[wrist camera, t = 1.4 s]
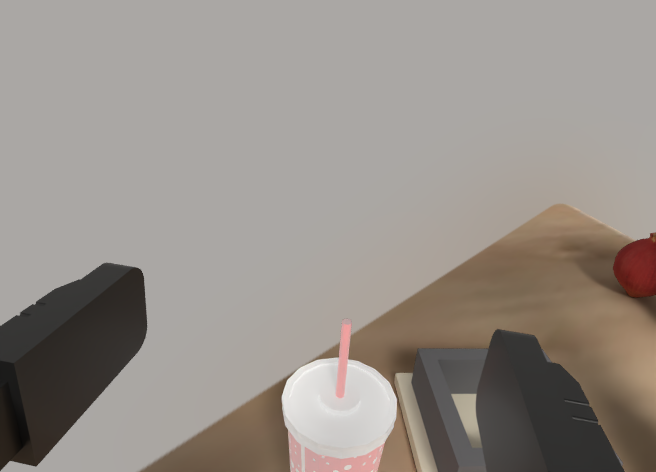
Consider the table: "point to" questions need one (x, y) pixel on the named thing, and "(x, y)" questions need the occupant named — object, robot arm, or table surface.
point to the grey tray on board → (444, 409)
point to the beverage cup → (338, 414)
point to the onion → (637, 267)
